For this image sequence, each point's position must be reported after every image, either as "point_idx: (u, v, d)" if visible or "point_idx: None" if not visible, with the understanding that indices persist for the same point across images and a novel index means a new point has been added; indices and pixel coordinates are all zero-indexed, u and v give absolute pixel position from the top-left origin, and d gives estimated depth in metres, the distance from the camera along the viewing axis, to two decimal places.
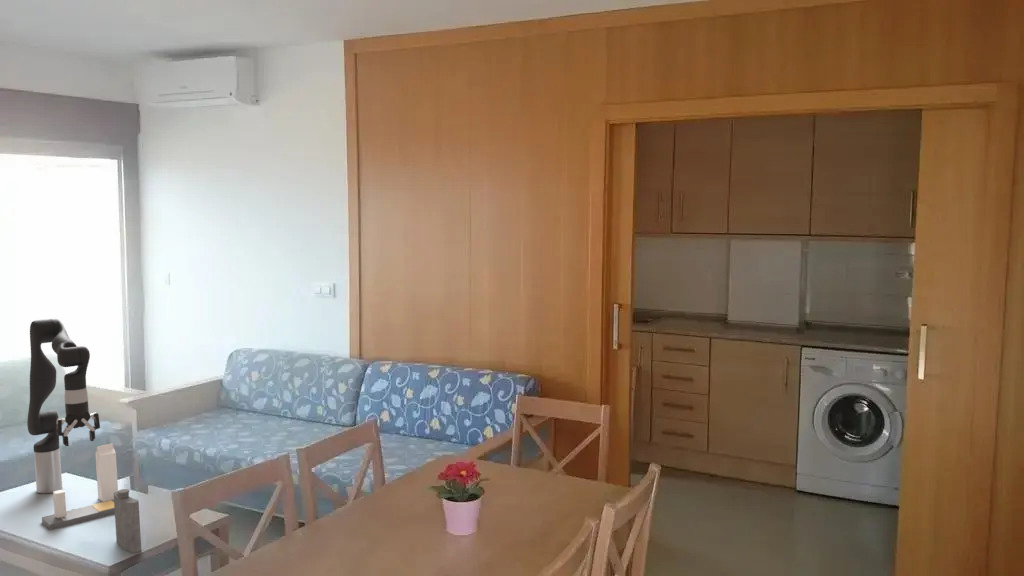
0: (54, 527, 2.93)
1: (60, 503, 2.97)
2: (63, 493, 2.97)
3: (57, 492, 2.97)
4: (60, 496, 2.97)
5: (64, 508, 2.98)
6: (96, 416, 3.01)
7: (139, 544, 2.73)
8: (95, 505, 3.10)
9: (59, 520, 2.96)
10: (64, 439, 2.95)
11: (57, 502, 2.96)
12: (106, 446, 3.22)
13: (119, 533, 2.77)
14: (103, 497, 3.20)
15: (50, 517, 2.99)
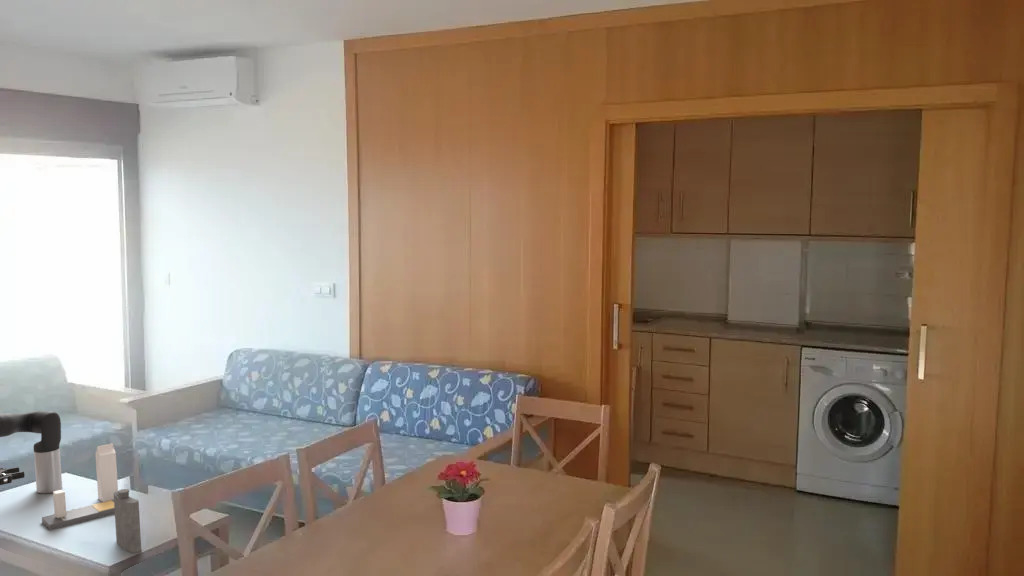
0: (54, 527, 2.93)
1: (60, 503, 2.97)
2: (63, 493, 2.97)
3: (57, 492, 2.97)
4: (60, 496, 2.97)
5: (64, 508, 2.98)
6: None
7: (139, 544, 2.73)
8: (95, 505, 3.10)
9: (59, 520, 2.96)
10: None
11: (57, 502, 2.96)
12: (106, 446, 3.22)
13: (119, 533, 2.77)
14: (103, 497, 3.20)
15: (50, 517, 2.99)
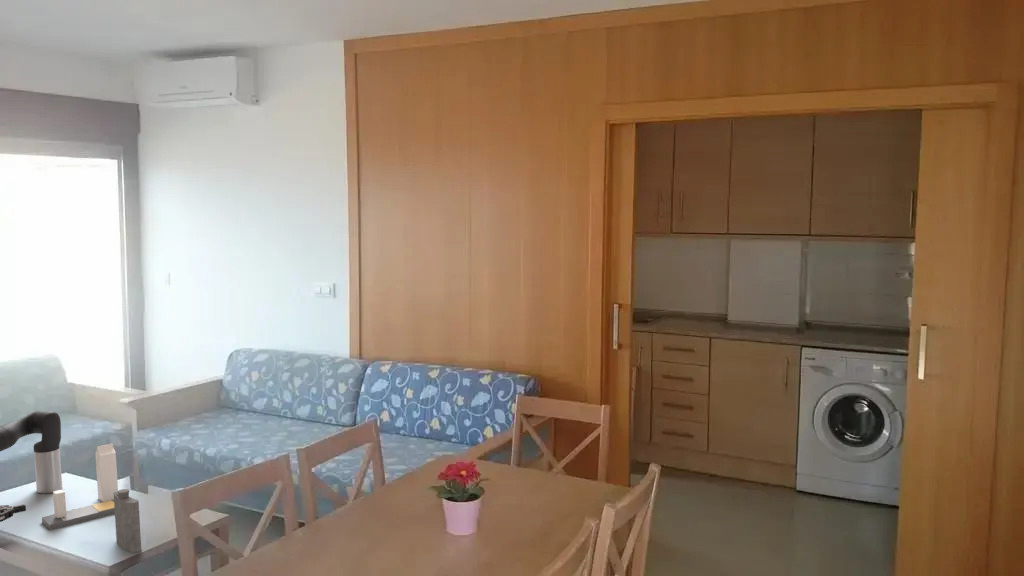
0: (54, 527, 2.93)
1: (60, 503, 2.97)
2: (63, 493, 2.97)
3: (57, 492, 2.97)
4: (60, 496, 2.97)
5: (64, 508, 2.98)
6: None
7: (139, 544, 2.73)
8: (95, 505, 3.10)
9: (59, 520, 2.96)
10: None
11: (57, 502, 2.96)
12: (106, 446, 3.22)
13: (119, 533, 2.77)
14: (103, 497, 3.20)
15: (50, 517, 2.99)
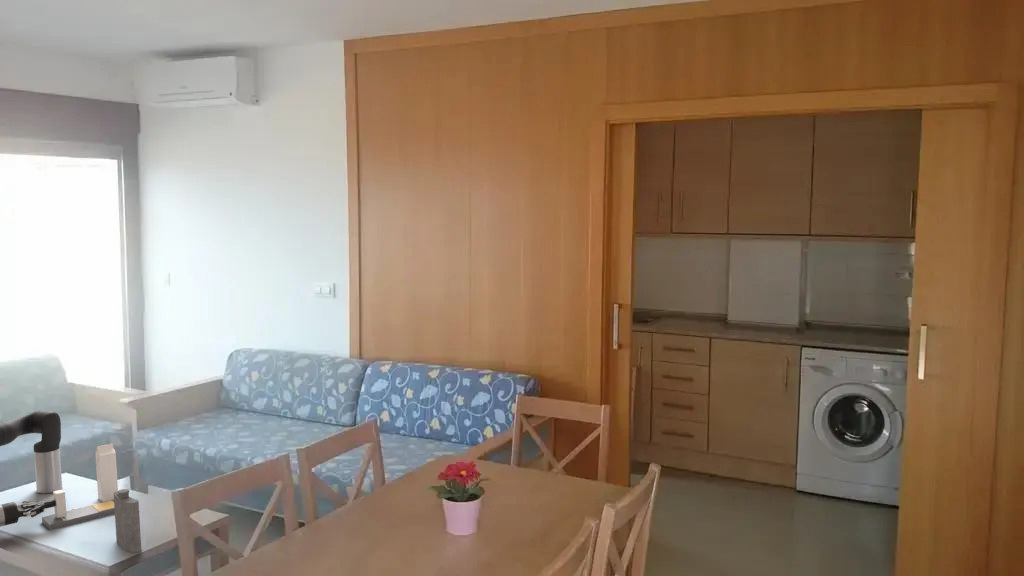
0: (54, 527, 2.93)
1: (60, 503, 2.97)
2: (63, 493, 2.97)
3: (57, 492, 2.97)
4: (60, 496, 2.97)
5: (64, 508, 2.98)
6: None
7: (139, 544, 2.73)
8: (95, 505, 3.10)
9: (59, 520, 2.96)
10: None
11: (57, 502, 2.96)
12: (106, 446, 3.22)
13: (119, 533, 2.77)
14: (103, 497, 3.20)
15: (50, 517, 2.99)
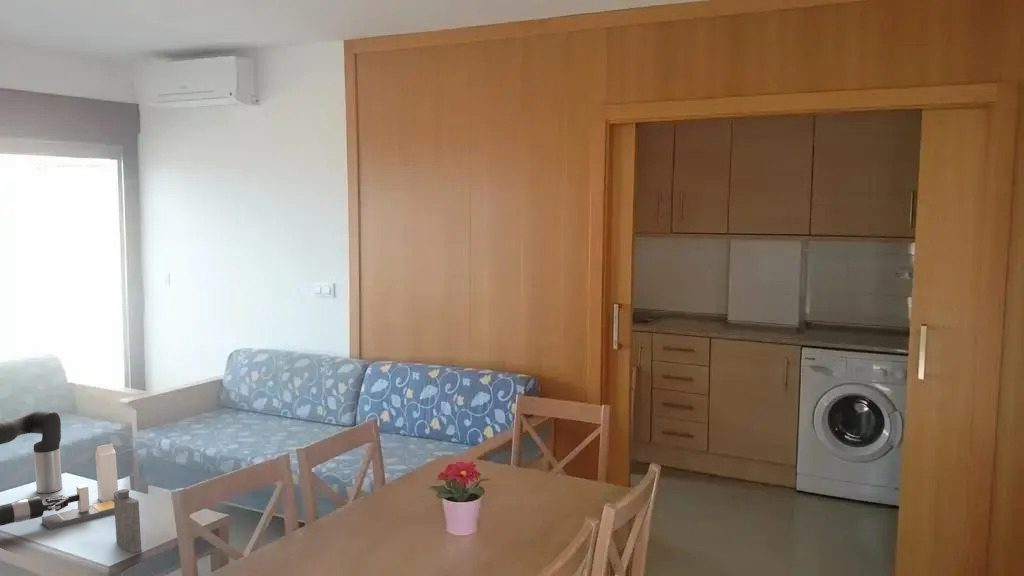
0: (54, 527, 2.93)
1: (83, 497, 3.02)
2: (86, 488, 3.03)
3: (81, 487, 3.03)
4: (83, 490, 3.02)
5: (87, 502, 3.04)
6: None
7: (139, 544, 2.73)
8: (95, 505, 3.10)
9: (59, 520, 2.96)
10: None
11: (80, 497, 3.02)
12: (106, 446, 3.22)
13: (119, 533, 2.77)
14: (103, 497, 3.20)
15: (50, 517, 2.99)
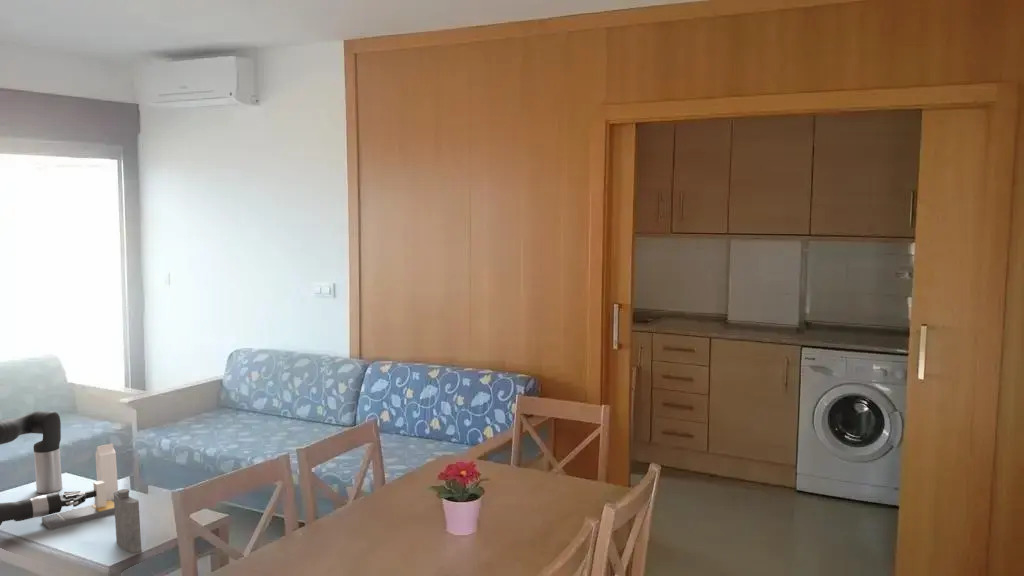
0: (54, 527, 2.93)
1: (100, 493, 3.07)
2: (103, 484, 3.07)
3: (97, 483, 3.07)
4: (100, 486, 3.06)
5: (104, 498, 3.08)
6: None
7: (139, 544, 2.73)
8: None
9: (59, 520, 2.96)
10: None
11: (97, 492, 3.06)
12: (106, 446, 3.22)
13: (119, 533, 2.77)
14: None
15: (50, 517, 2.99)
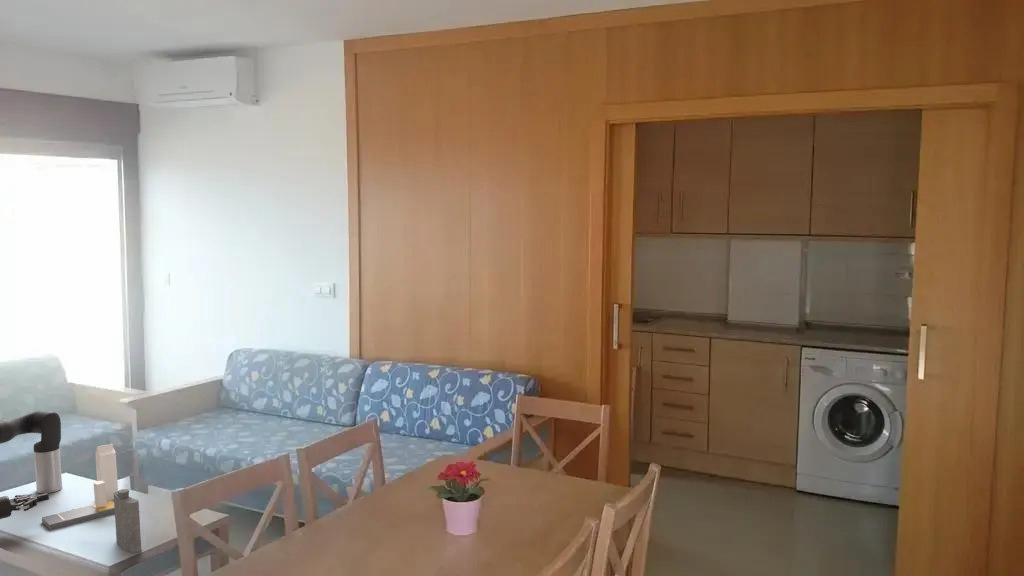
0: (54, 527, 2.93)
1: (100, 493, 3.07)
2: (103, 484, 3.07)
3: (98, 483, 3.07)
4: (100, 486, 3.06)
5: (104, 498, 3.08)
6: None
7: (139, 544, 2.73)
8: None
9: (59, 520, 2.96)
10: None
11: (98, 492, 3.06)
12: (106, 446, 3.22)
13: (119, 533, 2.77)
14: None
15: (50, 517, 2.99)
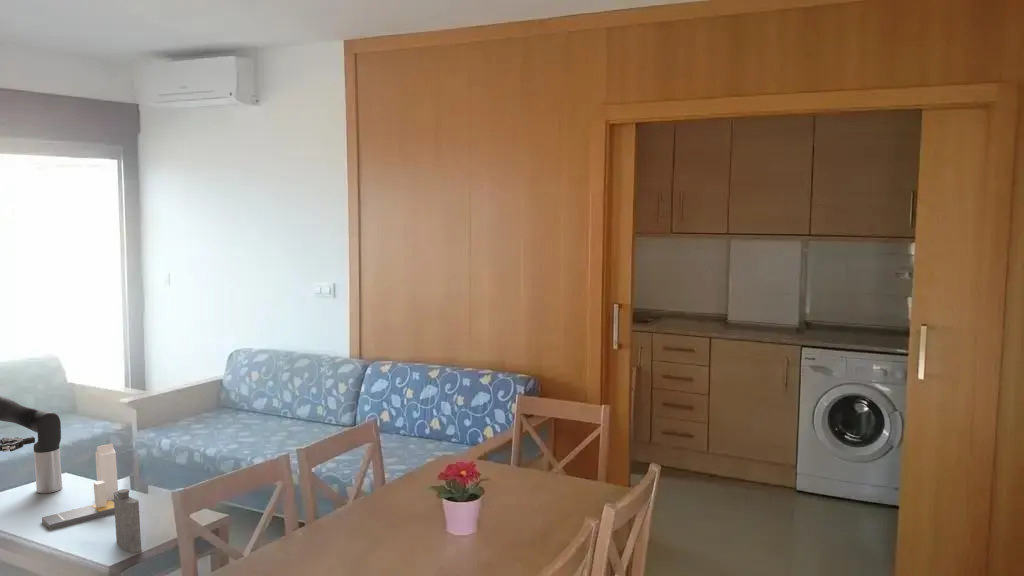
0: (54, 527, 2.93)
1: (100, 493, 3.07)
2: (103, 484, 3.07)
3: (98, 483, 3.07)
4: (100, 486, 3.06)
5: (104, 498, 3.08)
6: None
7: (139, 544, 2.73)
8: None
9: (59, 520, 2.96)
10: None
11: (98, 492, 3.06)
12: (106, 446, 3.22)
13: (119, 533, 2.77)
14: None
15: (50, 517, 2.99)
